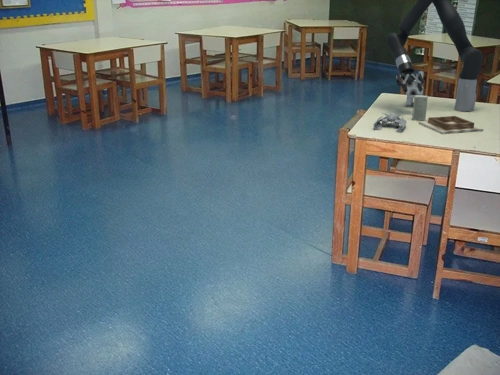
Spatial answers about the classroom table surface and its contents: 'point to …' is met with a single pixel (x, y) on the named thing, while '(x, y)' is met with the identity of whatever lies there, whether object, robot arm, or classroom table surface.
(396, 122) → the spaceship toy
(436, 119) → the holder
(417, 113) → the skincare box
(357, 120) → the classroom table surface
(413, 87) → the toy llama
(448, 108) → the classroom table surface
